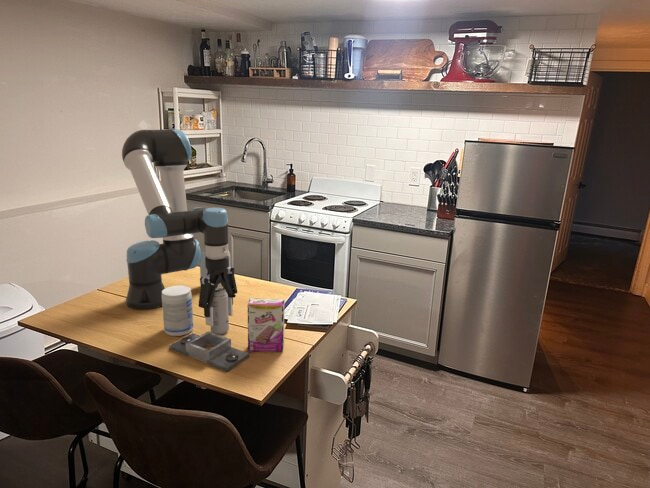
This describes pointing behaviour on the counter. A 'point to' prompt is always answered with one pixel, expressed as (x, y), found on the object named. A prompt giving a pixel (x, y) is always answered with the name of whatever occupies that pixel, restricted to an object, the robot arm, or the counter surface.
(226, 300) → the energy drink can
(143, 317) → the counter surface
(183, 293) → the supplement tub
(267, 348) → the candy bar box
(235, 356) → the grey base plate
